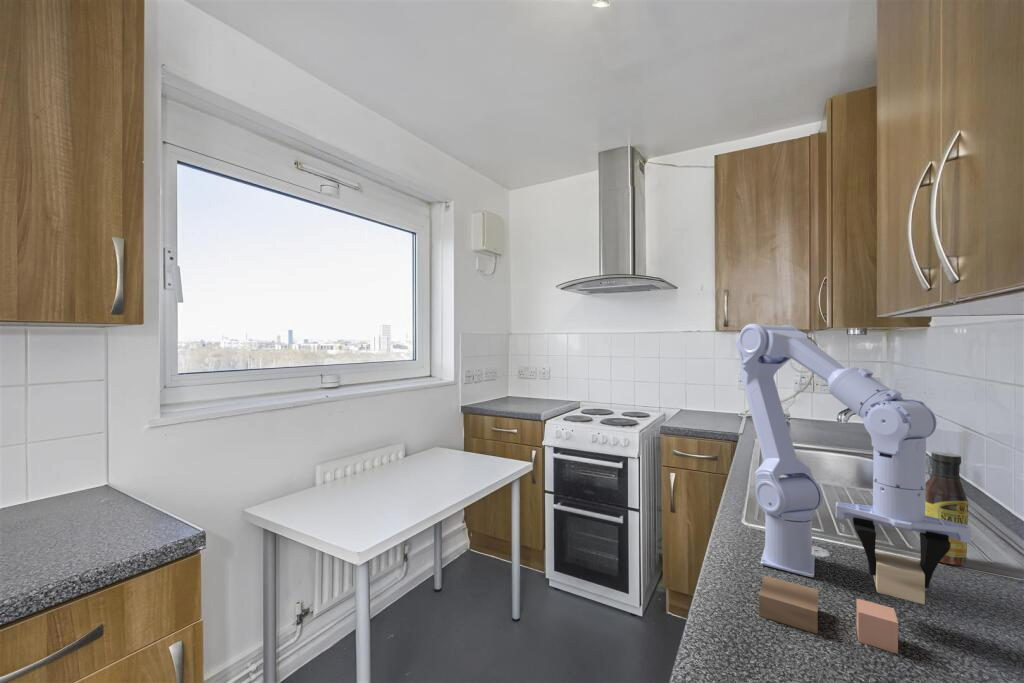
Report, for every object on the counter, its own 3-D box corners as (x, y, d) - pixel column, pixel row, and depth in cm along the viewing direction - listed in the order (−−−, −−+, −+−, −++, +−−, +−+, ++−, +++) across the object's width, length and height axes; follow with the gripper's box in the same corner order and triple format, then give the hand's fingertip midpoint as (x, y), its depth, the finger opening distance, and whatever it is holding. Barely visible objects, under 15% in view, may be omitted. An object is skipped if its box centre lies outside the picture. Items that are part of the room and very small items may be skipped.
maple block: (873, 577, 67) (873, 550, 67) (918, 588, 64) (918, 560, 64) (877, 592, 63) (877, 564, 63) (924, 604, 60) (924, 574, 60)
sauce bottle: (944, 567, 80) (944, 457, 80) (911, 551, 86) (911, 449, 87) (978, 567, 80) (978, 457, 81) (943, 551, 87) (943, 450, 87)
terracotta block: (856, 627, 62) (856, 598, 62) (893, 638, 60) (893, 608, 60) (858, 642, 59) (858, 611, 59) (897, 654, 57) (898, 623, 57)
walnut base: (763, 594, 70) (764, 575, 70) (817, 609, 66) (817, 589, 66) (759, 615, 64) (759, 594, 64) (817, 634, 60) (817, 611, 60)
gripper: (837, 480, 65) (835, 574, 65) (978, 502, 56) (977, 609, 56) (835, 470, 70) (834, 555, 70) (963, 488, 62) (962, 585, 62)
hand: (897, 578), depth 64 cm, fingers closed on maple block, 5 cm apart
